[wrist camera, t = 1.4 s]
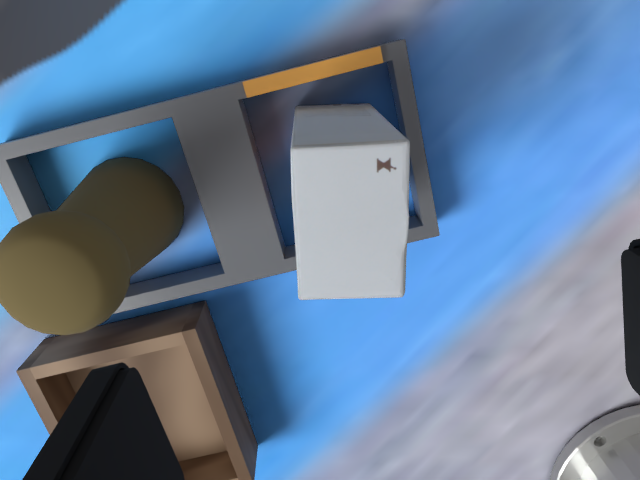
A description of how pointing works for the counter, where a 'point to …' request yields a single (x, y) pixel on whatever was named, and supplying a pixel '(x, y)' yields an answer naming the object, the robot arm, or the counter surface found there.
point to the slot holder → (230, 170)
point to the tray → (158, 385)
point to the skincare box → (349, 202)
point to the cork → (88, 247)
